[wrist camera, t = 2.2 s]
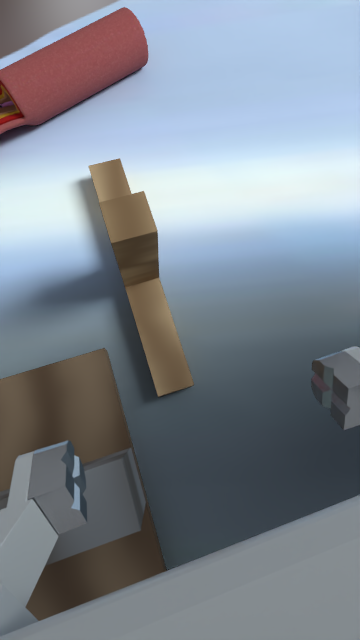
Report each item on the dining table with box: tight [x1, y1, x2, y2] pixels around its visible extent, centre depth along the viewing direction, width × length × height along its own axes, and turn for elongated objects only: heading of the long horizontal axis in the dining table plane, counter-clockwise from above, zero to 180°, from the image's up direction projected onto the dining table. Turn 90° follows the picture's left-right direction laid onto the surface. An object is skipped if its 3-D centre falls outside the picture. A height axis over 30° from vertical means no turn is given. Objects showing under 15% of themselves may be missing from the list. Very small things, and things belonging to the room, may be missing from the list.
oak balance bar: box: [89, 159, 194, 397], centre depth 27 cm, size 3×22×10 cm, turn 18°
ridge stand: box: [0, 348, 167, 621], centre depth 23 cm, size 12×20×8 cm, turn 18°
